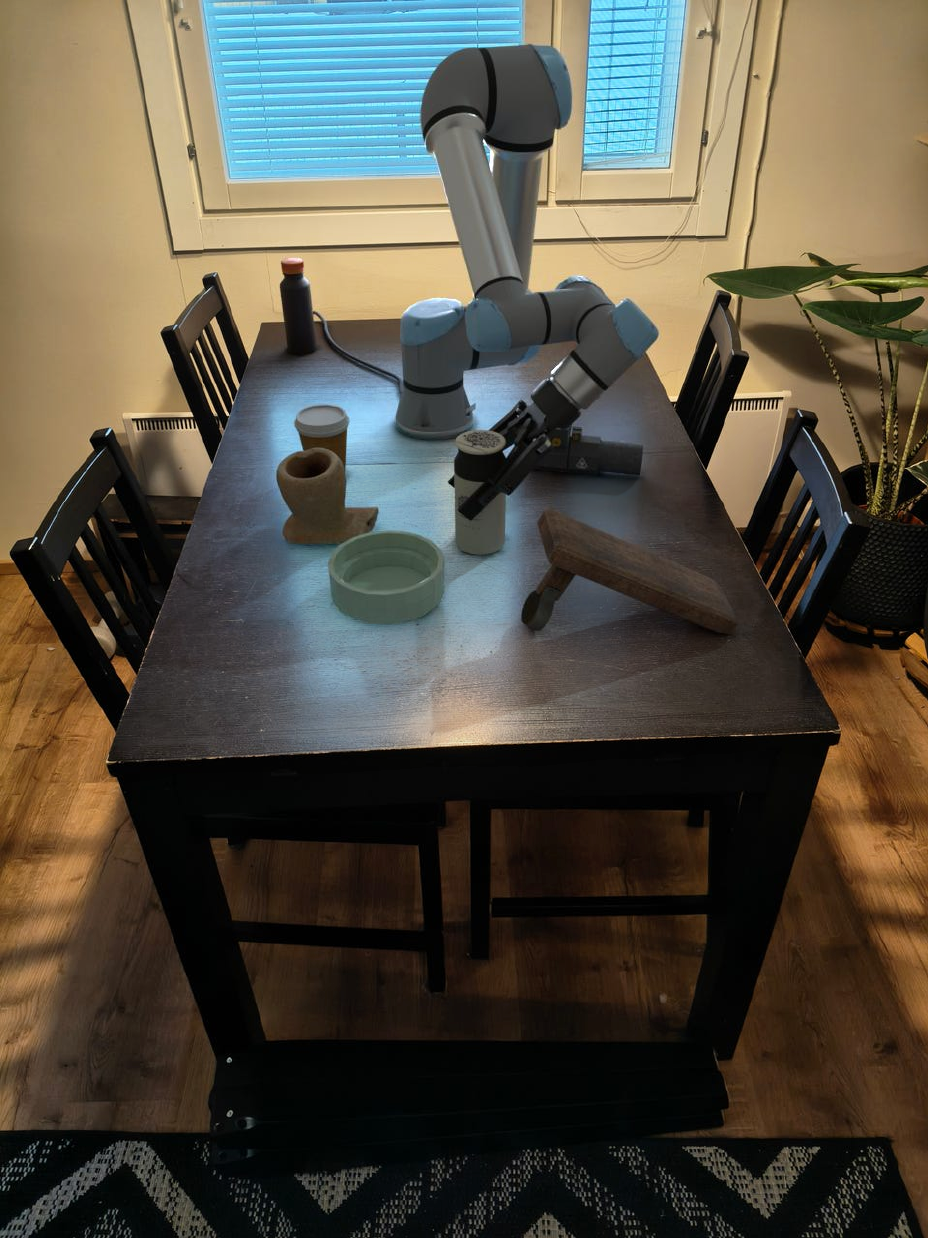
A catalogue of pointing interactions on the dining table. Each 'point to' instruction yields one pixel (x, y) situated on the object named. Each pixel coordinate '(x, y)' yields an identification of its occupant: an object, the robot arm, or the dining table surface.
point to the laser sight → (590, 454)
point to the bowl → (386, 577)
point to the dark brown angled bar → (621, 575)
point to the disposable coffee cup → (323, 429)
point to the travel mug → (471, 470)
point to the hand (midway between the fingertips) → (459, 500)
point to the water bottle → (297, 307)
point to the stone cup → (319, 500)
